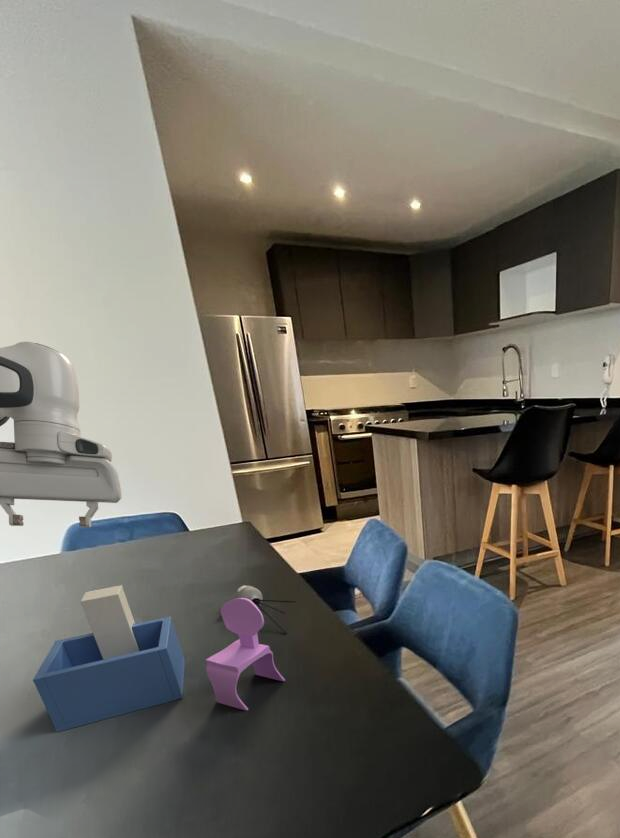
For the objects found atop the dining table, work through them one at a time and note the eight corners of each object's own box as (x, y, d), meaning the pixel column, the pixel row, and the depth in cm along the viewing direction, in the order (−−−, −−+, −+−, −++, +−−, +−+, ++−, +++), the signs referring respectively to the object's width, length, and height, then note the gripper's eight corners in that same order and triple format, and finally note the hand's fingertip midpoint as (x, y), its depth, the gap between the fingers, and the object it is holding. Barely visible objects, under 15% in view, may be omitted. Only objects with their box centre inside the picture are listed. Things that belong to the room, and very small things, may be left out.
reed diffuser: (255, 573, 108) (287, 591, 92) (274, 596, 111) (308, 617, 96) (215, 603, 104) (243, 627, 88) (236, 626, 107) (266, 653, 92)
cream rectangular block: (105, 665, 79) (80, 601, 75) (109, 653, 83) (85, 591, 78) (140, 657, 81) (118, 594, 77) (143, 646, 85) (121, 585, 80)
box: (57, 732, 71) (32, 679, 67) (75, 688, 81) (55, 640, 78) (182, 698, 77) (166, 648, 73) (185, 661, 87) (170, 615, 84)
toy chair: (209, 702, 75) (182, 615, 69) (251, 672, 82) (230, 590, 77) (249, 714, 72) (225, 623, 66) (290, 681, 79) (271, 597, 73)
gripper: (-41, 434, 77) (-38, 522, 77) (116, 447, 86) (118, 526, 86) (-25, 443, 82) (-21, 526, 83) (121, 454, 91) (124, 529, 92)
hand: (51, 526), depth 84 cm, fingers open, 8 cm apart
